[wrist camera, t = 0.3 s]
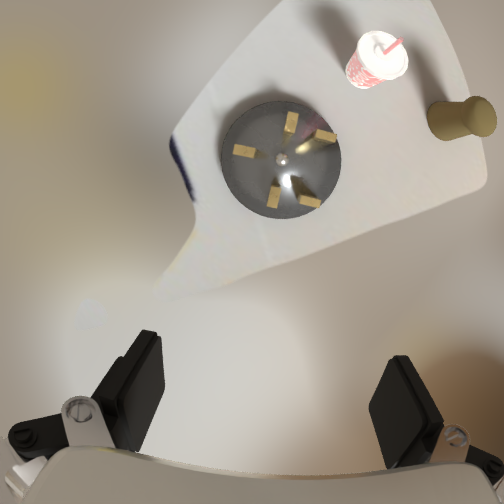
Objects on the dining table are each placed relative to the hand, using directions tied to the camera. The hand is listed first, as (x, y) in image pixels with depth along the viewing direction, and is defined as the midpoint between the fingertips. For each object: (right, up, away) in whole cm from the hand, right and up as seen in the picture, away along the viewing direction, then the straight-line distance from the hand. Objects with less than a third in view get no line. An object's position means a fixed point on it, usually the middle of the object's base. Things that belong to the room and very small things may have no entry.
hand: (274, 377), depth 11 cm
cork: (+27, +24, +23) cm, 43 cm away
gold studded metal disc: (+3, +17, +26) cm, 31 cm away
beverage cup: (+14, +29, +22) cm, 39 cm away
